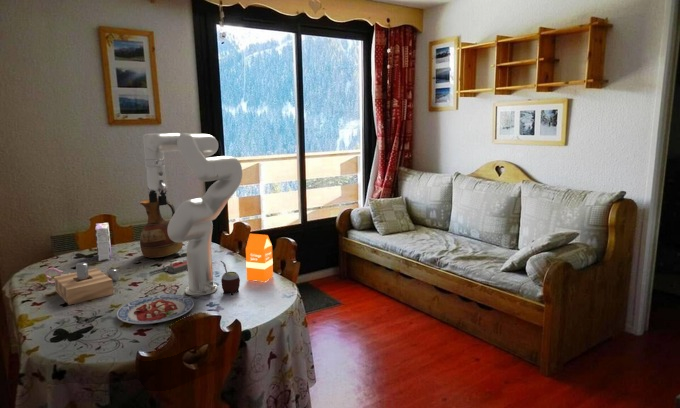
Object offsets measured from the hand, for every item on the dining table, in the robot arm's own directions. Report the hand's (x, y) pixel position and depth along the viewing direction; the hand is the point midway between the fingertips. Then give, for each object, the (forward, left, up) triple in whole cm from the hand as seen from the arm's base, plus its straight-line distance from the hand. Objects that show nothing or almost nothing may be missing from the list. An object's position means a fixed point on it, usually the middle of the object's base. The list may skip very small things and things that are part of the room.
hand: (158, 203), depth 196 cm
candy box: (+53, +8, -34) cm, 63 cm away
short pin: (+12, +17, -33) cm, 39 cm away
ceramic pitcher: (+35, -14, -34) cm, 50 cm away
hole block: (+6, +30, -33) cm, 45 cm away
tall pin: (+6, +30, -33) cm, 45 cm away
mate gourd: (-36, -12, -34) cm, 51 cm away
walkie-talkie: (+8, -8, -34) cm, 36 cm away
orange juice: (-30, -30, -34) cm, 54 cm away
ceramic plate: (-34, +17, -34) cm, 51 cm away
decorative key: (+25, +29, -34) cm, 51 cm away
